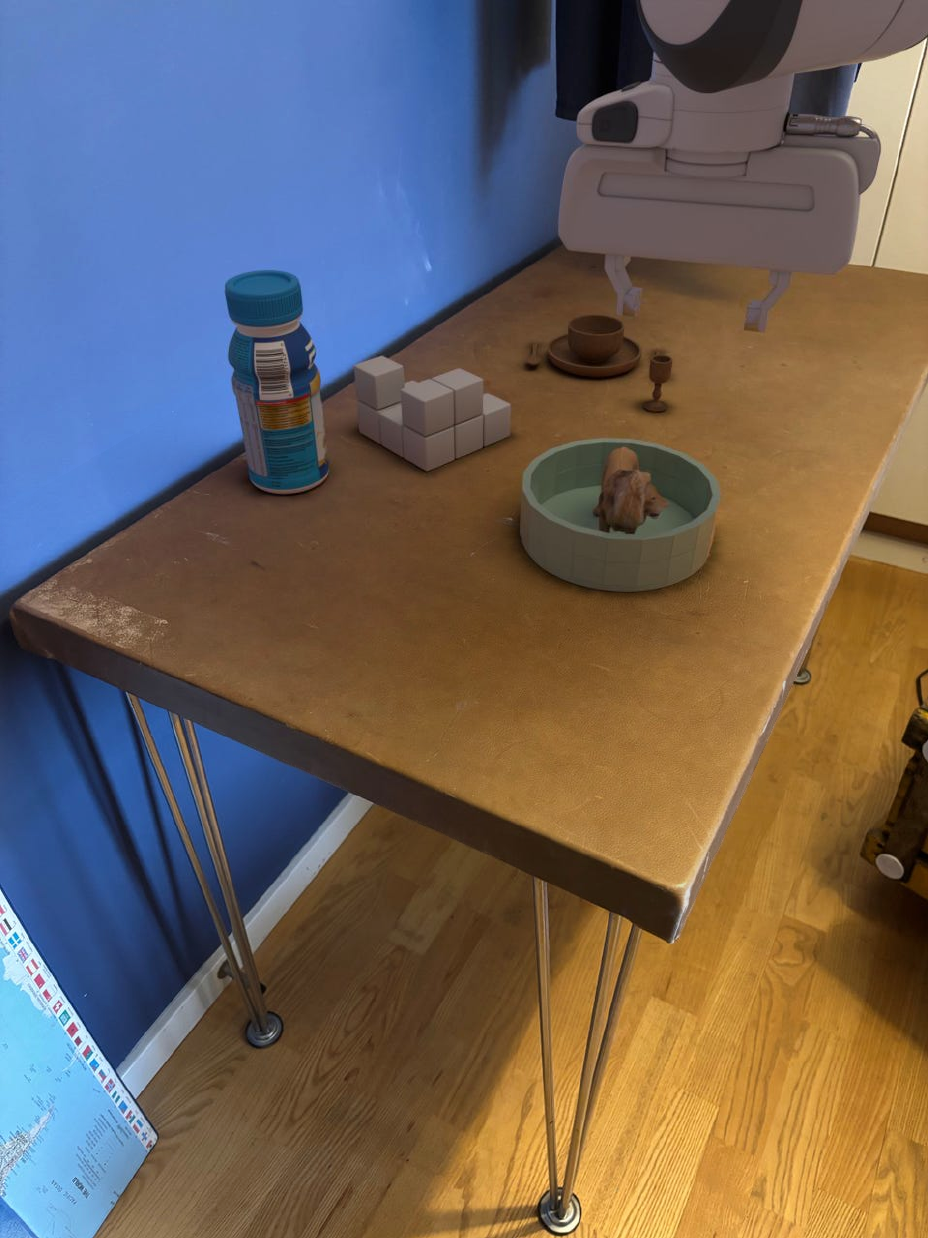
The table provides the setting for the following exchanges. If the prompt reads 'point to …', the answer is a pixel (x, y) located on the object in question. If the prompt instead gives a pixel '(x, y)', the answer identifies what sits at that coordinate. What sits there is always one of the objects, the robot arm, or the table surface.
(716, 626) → the table surface
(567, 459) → the bowl
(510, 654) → the table surface
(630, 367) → the place setting
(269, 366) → the beverage bottle
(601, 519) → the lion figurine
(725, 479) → the table surface
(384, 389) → the puzzle cube
